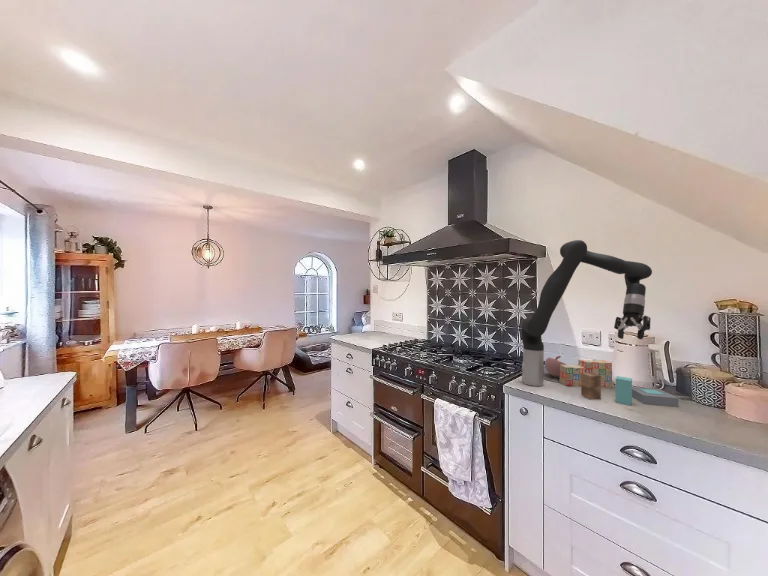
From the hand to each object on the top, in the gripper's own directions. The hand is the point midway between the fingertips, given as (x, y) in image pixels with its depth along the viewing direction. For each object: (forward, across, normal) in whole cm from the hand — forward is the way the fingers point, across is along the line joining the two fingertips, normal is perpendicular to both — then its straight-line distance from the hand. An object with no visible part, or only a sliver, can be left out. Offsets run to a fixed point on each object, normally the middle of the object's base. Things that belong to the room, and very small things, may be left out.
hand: (629, 338), depth 135 cm
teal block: (+29, +5, -5) cm, 30 cm away
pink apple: (+24, -32, -5) cm, 40 cm away
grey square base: (+25, +5, +9) cm, 27 cm away
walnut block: (+31, -3, -13) cm, 34 cm away
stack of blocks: (+25, -18, -2) cm, 31 cm away
